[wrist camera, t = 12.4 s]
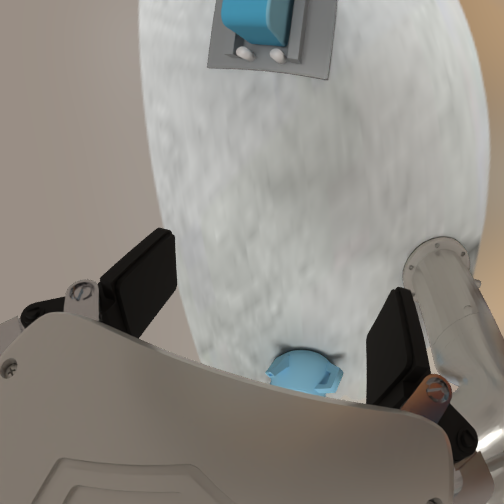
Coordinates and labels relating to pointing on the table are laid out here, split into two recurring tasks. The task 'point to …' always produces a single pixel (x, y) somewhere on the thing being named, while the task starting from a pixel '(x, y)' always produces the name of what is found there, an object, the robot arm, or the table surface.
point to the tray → (277, 57)
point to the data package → (259, 20)
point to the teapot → (305, 373)
